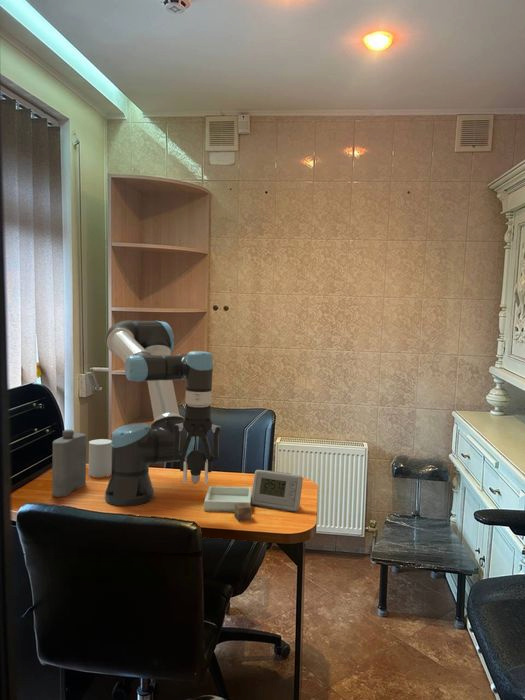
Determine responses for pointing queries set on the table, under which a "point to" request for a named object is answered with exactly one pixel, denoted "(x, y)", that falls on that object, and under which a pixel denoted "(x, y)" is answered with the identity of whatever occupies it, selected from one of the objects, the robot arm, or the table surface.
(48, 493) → the table surface
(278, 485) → the digital clock
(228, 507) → the tray
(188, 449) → the robot arm
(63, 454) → the flask
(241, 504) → the walnut block
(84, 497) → the table surface
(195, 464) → the light bulb
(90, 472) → the cup
